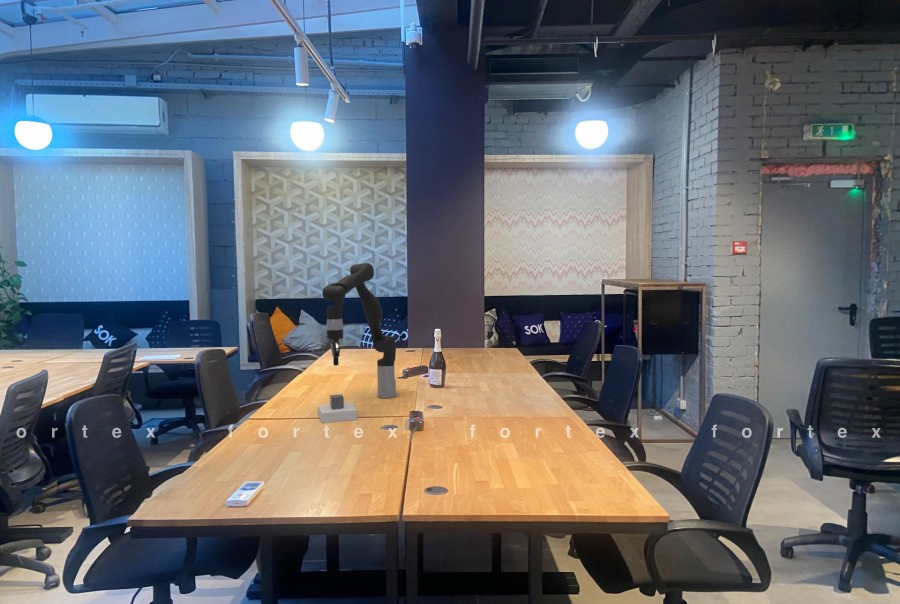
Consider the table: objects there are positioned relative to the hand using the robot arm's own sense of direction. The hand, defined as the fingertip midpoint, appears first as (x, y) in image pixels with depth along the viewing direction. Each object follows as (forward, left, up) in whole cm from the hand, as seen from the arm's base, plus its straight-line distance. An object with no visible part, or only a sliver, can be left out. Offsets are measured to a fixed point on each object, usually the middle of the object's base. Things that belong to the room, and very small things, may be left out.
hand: (336, 365), depth 277 cm
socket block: (0, 0, -25) cm, 25 cm away
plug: (0, 0, -25) cm, 25 cm away
